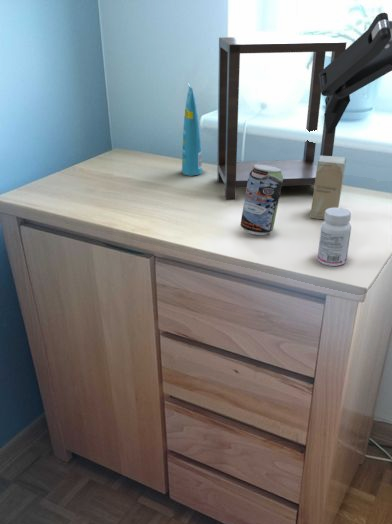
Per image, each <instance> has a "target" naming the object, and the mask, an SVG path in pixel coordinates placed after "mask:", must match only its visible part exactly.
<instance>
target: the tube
mask: <svg viewBox="0 0 392 524" xmlns="http://www.w3.org/2000/svg"><path fill="white" fill-rule="evenodd" d="M187 85H188V90H187V94H186V101H185V109H184V117H183V132H182V153H181V154H182V155H181V156H182V158H181V173H182V175H185V176H191V177H192V176H198V175H201V174H202V173H203V159H202V158H203V157H202V156H203V155H202V143H201V131H200V122H199V115H198V108H197V102H196V97H195V93H194V89H193V88H192V87H191V85H190V83H187Z"/></svg>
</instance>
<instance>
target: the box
mask: <svg viewBox="0 0 392 524" xmlns="http://www.w3.org/2000/svg"><path fill="white" fill-rule="evenodd" d="M347 159H348V158H347V157H346V156H345V157H344V156H336V155H335V156H333V155H332V156H320V155H319V157H318V160H317V163H316V164H317V171H316V178H315V185H313V186H314V187H313V193H312V201H311V209H310V215H309V218H311V219H318V220H325V218H324V216H325V211H326V209H328V208H334V207H338V208H340V201H341V195H342V188H343V182H344V176H345V172H346V164H347V161H348V160H347Z"/></svg>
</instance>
